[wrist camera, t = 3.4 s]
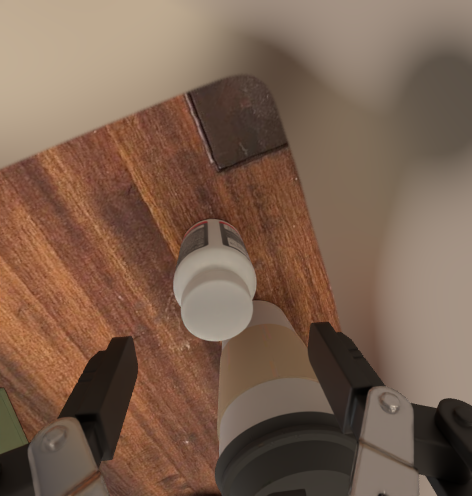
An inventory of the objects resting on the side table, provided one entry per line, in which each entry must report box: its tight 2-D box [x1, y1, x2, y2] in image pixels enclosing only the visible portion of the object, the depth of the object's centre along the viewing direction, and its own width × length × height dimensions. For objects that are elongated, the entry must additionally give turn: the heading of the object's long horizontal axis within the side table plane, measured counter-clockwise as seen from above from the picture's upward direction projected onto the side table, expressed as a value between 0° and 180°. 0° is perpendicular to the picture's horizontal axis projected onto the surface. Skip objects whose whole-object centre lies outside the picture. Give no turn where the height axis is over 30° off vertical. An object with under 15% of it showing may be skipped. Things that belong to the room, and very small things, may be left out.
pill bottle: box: [173, 219, 257, 341], centre depth 19 cm, size 5×5×10 cm
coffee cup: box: [215, 300, 357, 496], centre depth 20 cm, size 9×9×15 cm
